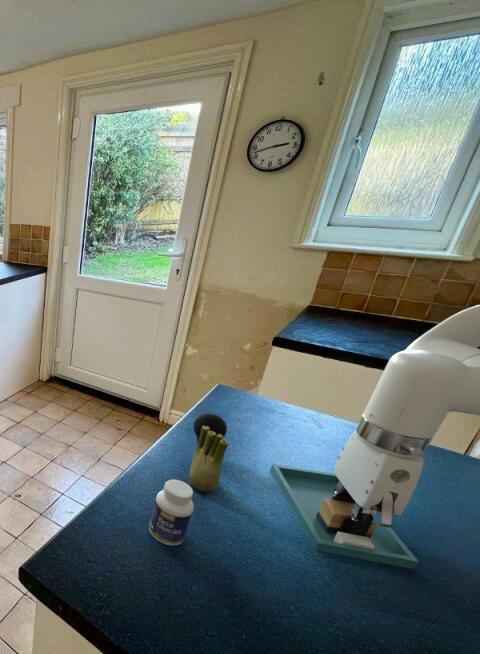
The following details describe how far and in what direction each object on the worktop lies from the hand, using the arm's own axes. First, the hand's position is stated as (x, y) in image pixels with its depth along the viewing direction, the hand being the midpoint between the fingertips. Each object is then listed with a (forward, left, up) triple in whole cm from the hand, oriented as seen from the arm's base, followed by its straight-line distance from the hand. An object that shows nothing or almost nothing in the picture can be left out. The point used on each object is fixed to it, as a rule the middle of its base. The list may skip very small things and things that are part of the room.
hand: (343, 525), depth 68 cm
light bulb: (+18, -16, -1) cm, 24 cm away
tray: (0, -4, -1) cm, 4 cm away
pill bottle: (+28, +8, -1) cm, 29 cm away
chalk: (+1, +4, -1) cm, 4 cm away
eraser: (0, 0, 0) cm, 0 cm away
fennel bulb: (+20, -6, -1) cm, 21 cm away
